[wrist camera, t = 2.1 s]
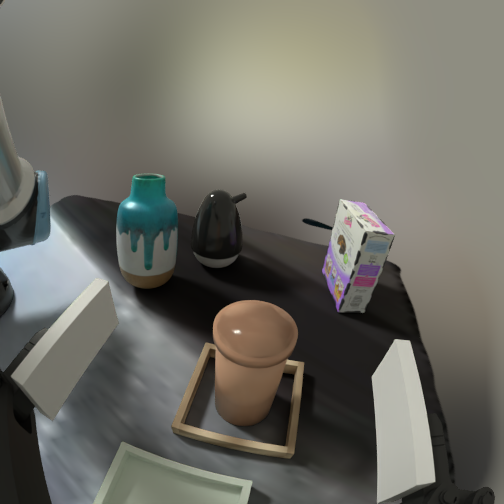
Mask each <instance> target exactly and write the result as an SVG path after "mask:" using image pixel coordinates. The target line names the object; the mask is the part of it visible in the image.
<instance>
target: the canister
mask: <svg viewBox="0 0 504 504" xmlns="http://www.w3.org/2000/svg"><path fill="white" fill-rule="evenodd" d="M297 337H298V330H297V326H296V324H295V322H294V320H293V319H292V317H291V316H290V315H289V314H288V313H287V312H285V311H284V310H283V309H281V308H279V307H277V306H275V305H273V304H270V303H267V302H263V301H256V300H246V301H239V302H235V303H232V304H230V305H228V306H226V307H225V308H223V309H222V310H221V311H220V312H219V313H218V314H217V316H216V317H215V320H214V323H213V340H214V343H215V346H216V358H215V407H216V410H217V412H218V413H219V415H220V416H221V417H222V418H223V419H224V420H226V421H227V422H229V423H231V424H234V425H238V426H251V425H254V424H257V423H259V422H261V421H262V420H263V419H265V417H266V416H267V415H268V413H269V411H270V409H271V406H272V403H273V400H274V397H275V394H276V391H277V389H278V386H279V383H280V380H281V377H282V374H283V371H284V368H285V365H286V362H287V359H288V357H289V356H290V355H291V353H292V352H293V350H294V347H295V344H296V341H297Z"/></svg>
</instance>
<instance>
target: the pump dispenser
mask: <svg viewBox="0 0 504 504" xmlns="http://www.w3.org/2000/svg"><path fill="white" fill-rule="evenodd" d="M245 198H246V194H245V193H243V194H240V195H237V196H234V197H232V196H231V195H230V194H229V193H228V192H226V191H224V190H214V191H211V192H210V193H209V194H208V195H207V196H206V197H205V198H204V200H203V202H202V204H201V206H200V208H199V210H198V212H197V215H196V218H195V221H194V225H193V230H192V237H191V248H192V250H193V251H194V254H195V256H196V258H197V259H198V260H199V262H201V263H202V264H204V265H205V266H208V267H212V268H222V267H226V266H228V265H230V264H231V263H233V262H234V261H235V260H236V258H237V257H238V255H239V253H240V252H241V250H242V226H241V220H240V216H239V212H238V209H237V207H236V203H238V202H239V201H242V200H243V199H245Z"/></svg>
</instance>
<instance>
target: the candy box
mask: <svg viewBox="0 0 504 504" xmlns="http://www.w3.org/2000/svg"><path fill="white" fill-rule="evenodd" d="M394 237H395V234H394V233H392V231H391V230H390V229H389V228H388V227H387V226H386V225H385V224H384V223H383V222H382V221H381V219H379V217H378V216H376V214H375V213H374V212H373V211H372V210H371V209H370V208H369V207H368V206H367V205H366V204H365V203H362V202H355V201H349V200H341V199H340V200H339V204H338V208H337V213H336V217H335V222H334V226H333V230H332V234H331V238H330V242H329V246H328V250H327V254H326V258H325V262H324V265H323V269H322V271H323V274H324V277H325V279H326V282H327V284H328V287H329V290H330V292H331V295H332V297H333V300H334V302H335V305H336V308H337V310H338V312H344V313H349V312H350V313H364V312H365V310H366V308H367V306H368V303H369V301H370V299H371V296H372V294H373V292H374V289H375V287H376V284H377V282H378V279H379V277H380V274H381V272H382V269H383V267H384V264H385V261H386V259H387V256H388V253H389V251H390V248H391V245H392V242H393V240H394Z"/></svg>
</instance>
